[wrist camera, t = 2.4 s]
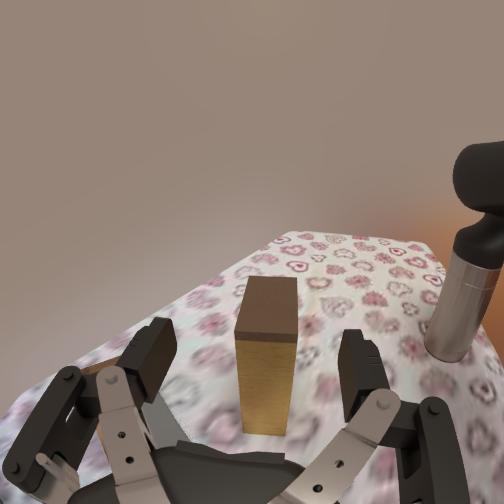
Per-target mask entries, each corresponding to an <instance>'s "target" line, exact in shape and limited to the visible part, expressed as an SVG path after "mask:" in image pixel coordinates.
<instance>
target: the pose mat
mask: <svg viewBox="0 0 504 504" xmlns="http://www.w3.org/2000/svg"><path fill="white" fill-rule="evenodd" d="M142 409H143V412H144V415H145V418H146V420H147V423H148V426H149V428H150V431H151V433H152V436H153V438H154V441H155V443H156V445H157V447H158V449H159V448H162V447H167V446H176V444H177V441H178V440H182V441H187V442H191V441H190V440H189V439H188V437H187V436H186V434H185V433H184V431H183V430H182V428H181V427H180V425H179V424H178V422H177V421H176V419H175V418H174V416H173V415H172V413H171V411H170V410H169V408H168V407H167V405H166V403H165V402H164V400H163V398H162V397H161V395H160V393H159V392H158V393H157V395H156V398H155V400H154V402H153V404H150V403H146V402H144V403H143V405H142Z"/></svg>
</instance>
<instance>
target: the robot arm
mask: <svg viewBox="0 0 504 504" xmlns="http://www.w3.org/2000/svg"><path fill="white" fill-rule="evenodd" d="M453 184H454V188H455V191H456V194H457V196H458V198H459V199H460V201H461V202H462V203H463V204H464V205H465V206H467V207H468V208H470V209H472V210H475V211H479V212H485V215H484V217H483V218H482V219H481V220H480V221H479V222H477V223H476V224H474V225H472V226H469V227H465V228H463V229H461V230H459V231H458V232H457V234H456V237H455V241H454V246H453V250H452V254H451V259H450V262H449V266H448V270H447V273H446V277H445V280H444V283H443V287H442V290H441V293H440V296H439V299H438V302H437V305H436V308H435V311H434V313H433V316H432V319H431V321H430V324H429V326H428V329H427V331H426V334H425V337H424V344H425V347H426V348H427V350H428V351H429V352H430V353H431V354H432V355H433V356H435V357H436V358H438V359H440V360H443V361H447V362H455V361H459V360H461V359H462V358H464V356H465V355H466V353H467V351H468V349H469V347H470V345H471V343H472V341H473V339H474V337H475V335H476V333H477V331H478V329H479V327H480V324H481V322H482V319H483V317H484V315H485V313H486V310H487V308H488V305H489V303H490V300H491V298H492V295H493V292H494V290H495V287H496V284H497V281H498V278H499V275H500V272H501V269H502V266H503V262H504V141H500V142H492V143H481V144H472V145H469V146H467V147H466V148H465V149H463V150H462V152H461V153H460V154H459V156H458V158H457V160H456V162H455V165H454V169H453ZM176 352H177V341H176V336H175V332H174V327H173V323H172V320H171V319H169V318H161V317H155V318H154V319H153V321H152V322H151V324H150V325H149V326H144V327H143V328H141V329H140V330H139V331H137V333H136V334H135V336H134V337H133V338H132V340H131V341H130V343H129V346H127V347H126V349H125V350H124V352H123V353H122V355H121V356H120V358H119V359H118V361H117V362H116V364H115V365H114V366H109V367H106V368H104V369H102V370H101V371H100V372H99V373H98V374H97V375H83V374H82V372H81V370H80V369H79V368H78V367H76V366H67V367H64V368H62V369H61V370H60V371H59V372H58V373H57V375H56V376H55V378H54V379H53V380H52V382H51V383H50V385H49V386H48V388H47V389H46V391H45V392H44V394H43V395H42V397H41V398H40V400H39V402H38V403H37V405H36V406H35V408H34V409H33V411H32V413H31V414H30V416H29V417H28V419H27V421H26V422H25V424H24V426H23V427H22V429H21V431H20V432H19V434H18V436H17V438H16V439H15V441H14V443H13V445H12V446H11V448H10V450H9V452H8V454H7V456H6V458H5V459H4V462H3V465H2V470H3V474H4V476H5V478H6V479H7V480H8V481H10V482H11V483H12V484H14V485H15V486H17V487H18V488H19V489H20V490H21V491H23V492H24V493H26V494H27V495H29V496H30V497H32V498H33V499H35V500H37V501H39V502H41V503H43V504H340V503H339V502H338V501H337V500H338V499H339V497H340V496H341V495H342V494H343V493H344V491H345V490H346V489H347V488H348V486H349V485H350V484H351V483H352V481H353V480H354V479H355V477H356V476H357V475H358V473H359V472H360V471H361V469H362V468H363V467H364V465H365V464H366V462H367V461H368V460H369V458H370V457H371V455H372V454H373V452H374V451H375V449H376V448H377V445H380V446H386V447H392V448H395V450H396V458H397V468H398V480H399V495H400V504H470V498H469V491H468V485H467V480H466V474H465V469H464V464H463V460H462V455H461V451H460V447H459V443H458V439H457V435H456V432H455V428H454V424H453V421H452V418H451V414H450V411H449V408H448V405H447V404H446V402H445V401H444V400H442V399H441V398H438V397H427V398H425V399H424V400H423V401H422V402H421V403H420V404H418V403H411V402H405V401H402V400H400V398H399V396H398V395H397V394H396V393H395V392H393V391H391V389H390V386H389V383H388V379H387V376H386V373H385V369H384V366H383V364H382V360H381V357H380V353H379V350H378V347H377V346H376V345H375V344H374V343H373V342H372V341H371V340H364V338H363V334H362V331H361V329H345V330H344V332H343V336H342V341H341V345H340V349H339V354H338V370H339V378H340V385H341V393H342V401H343V409H344V418H345V423H347V422H349V423H348V425H347V426H346V427H345V428H342V429H341V430H340V431H339V432H338V434H337V435H336V436H335V437H334V438H333V440H332V441H331V442H330V443H329V444H328V445H327V447H326V448H325V449H324V450H323V451H322V452H321V453H320V455H319V456H318V457H317V458H316V459H315V460H314V461H313V462H312V463H311V464H310V465H309V466H308V467H307V468H304V467H303V466H301V465H299V464H297V463H295V462H292V461H289V460H285V459H284V458H285V453H272V452H249V453H240V454H226V453H223V452H220V451H218V450H215V449H213V448H210V447H208V446H205V445H203V444H197V443H192V442H187V441H182V440H178V441H177V444H176V446H167V447H162V448H159V449H158V447H157V445H156V443H155V441H154V438H153V436H152V433H151V431H150V428H149V426H148V423H147V420H146V418H145V415H144V412H143V409H142V405H143V403H144V402H146V403H150V404H153V402H154V400H155V398H156V395H157V393H158V391H159V389H160V387H161V385H162V383H163V380H164V378H165V376H166V374H167V372H168V370H169V368H170V366H171V363H172V361H173V359H174V357H175V355H176ZM72 407H74V409H73V411H72V413H71V414H70V416H69V418H68V420H67V422H66V418H67V416H68V414H69V413H70V411H71V409H72ZM99 422H100V426H101V431H102V435H103V440H104V444H105V448H106V451H107V455H108V459H109V462H110V466H111V469H112V472H113V473H111V474H109V475H107V476H105V477H103V478H101V479H99V480H97V481H95V482H93V483H91V484H89V485H87V486H85V487H83V488H80V483H79V475H78V473H77V470H78V467H79V465H80V463H81V460H82V458H83V456H84V454H85V451H86V449H87V447H88V445H89V443H90V440H91V438H92V436H93V434H94V432H95V430H96V428H97V425H98V423H99Z"/></svg>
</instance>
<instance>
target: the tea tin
mask: <svg viewBox="0 0 504 504" xmlns="http://www.w3.org/2000/svg"><path fill="white" fill-rule="evenodd" d="M234 335H235V348H236V360H237V371H238V382H239V393H240V404H241V414H242V424H243V433H248V434H260V435H275V436H285V434H286V427H287V420H288V414H289V406H290V399H291V392H292V384H293V376H294V367H295V359H296V349H297V340H298V298H297V278H294V277H265V276H249V279H248V282H247V286H246V289H245V293H244V297H243V300H242V304H241V308H240V311H239V315H238V319H237V322H236V326H235V329H234Z"/></svg>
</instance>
